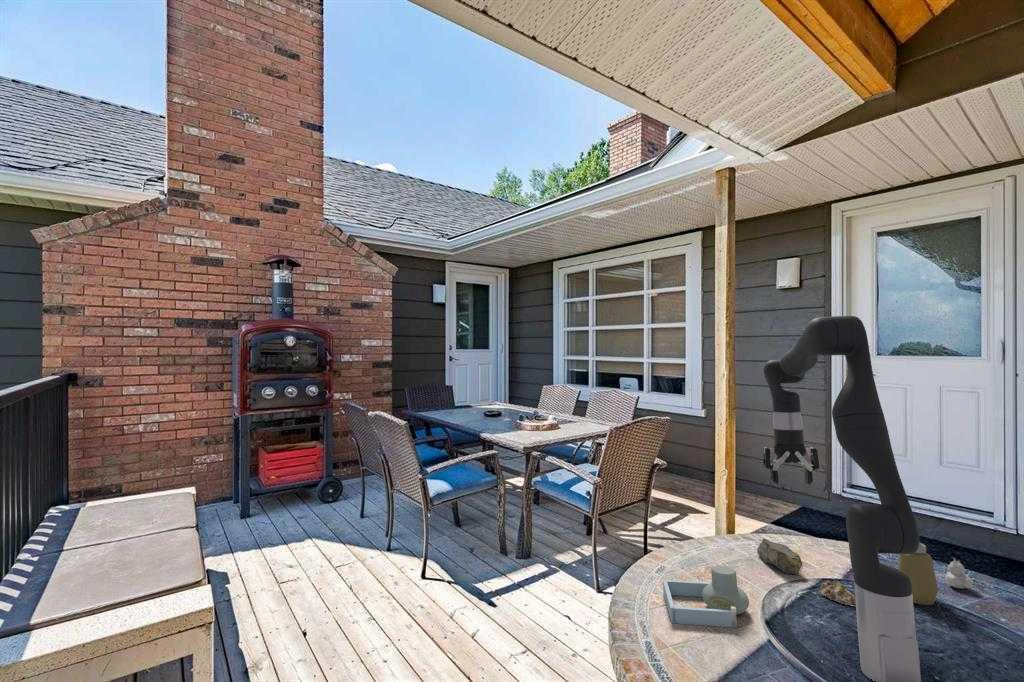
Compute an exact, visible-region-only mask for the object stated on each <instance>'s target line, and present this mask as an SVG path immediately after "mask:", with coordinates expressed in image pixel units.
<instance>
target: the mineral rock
mask: <svg viewBox="0 0 1024 682" xmlns="http://www.w3.org/2000/svg"><path fill="white" fill-rule="evenodd" d="M818 593H819V594H820V593H821V595H823V596H822V597H824V596H826V597H828V598H831V599H833V600H836V601H838V602H841V603H845V604H848V605H851V604H852V605H855V606H856V600H855V594H854V593H852V592H851V591H849V589H847V588H846V587H845V586H844V585H843V584H842V583H841V582H836V581H835V582H832V581H831V580H825V582H822V583H821V586H820V587H819V592H818ZM821 595H820V596H821ZM826 597H825V598H826Z"/></svg>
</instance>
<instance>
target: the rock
mask: <svg viewBox="0 0 1024 682" xmlns="http://www.w3.org/2000/svg"><path fill="white" fill-rule="evenodd" d="M756 552H757V554H758V557H760V559H761V560H762V562H764V563H765V564H767V565H771V566H773V567H776V568H778V569H779V570H780V571H781V572H783V574H787V575H798V574H799V571H800V570H801V568H803V561H802V559H801V556H800V555H799V554H798V553H797V552H794V551H793V550H792V549H791V548H789V546H788V545H786V544H783V543H779V542H774V541H770V540H769V539H767V538H762V540H761V542H760V543H759V544H758V547H757V550H756Z"/></svg>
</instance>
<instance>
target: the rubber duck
mask: <svg viewBox="0 0 1024 682" xmlns="http://www.w3.org/2000/svg"><path fill="white" fill-rule="evenodd" d="M947 568H948V571H947V572H946V573H945V581H946V583H947V584H948V585H949V586H950V587H952V588H956V589H957V590H958V589H960V590H961V589H962V590H963V589H972V588H973V582H974V579H972V578H971V577H970V576H968V575H967V574H965V572H966V570H965V567H964V565H963V564H962V563H961V562H960V561H959V560H956V558H955V557H953V561H951V562H950V563H949V565H948V566H947Z"/></svg>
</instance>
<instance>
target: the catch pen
mask: <svg viewBox="0 0 1024 682" xmlns="http://www.w3.org/2000/svg"><path fill="white" fill-rule="evenodd" d="M710 583H712V581H710V582H709V581H695V580H694V581H692V580H689V581H688V580H675V579H674V580H673V579H662V590H663V591H662V593H663V596H664V600H665V604H666V607H667V611H668V614H669V619H670V623H671V624H681V625H696V626H707V627H708V626H709V627H720V628H721V627H722V628H724V627H725V628H735V629H736V628H738V624H737V620H738V619H737V615H736V608H735V607H734V606H730V608H731V610H721V609H711V608H704V607H703V608H702V607H691V606H689V607H688V606H675V604H674V600H673V598H672V596H684V597H686V596H687V597H697V598H698V597H701V598H703V597H702V592H703V589H704V588H705V587H706V586H707V585H708V584H710Z"/></svg>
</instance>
